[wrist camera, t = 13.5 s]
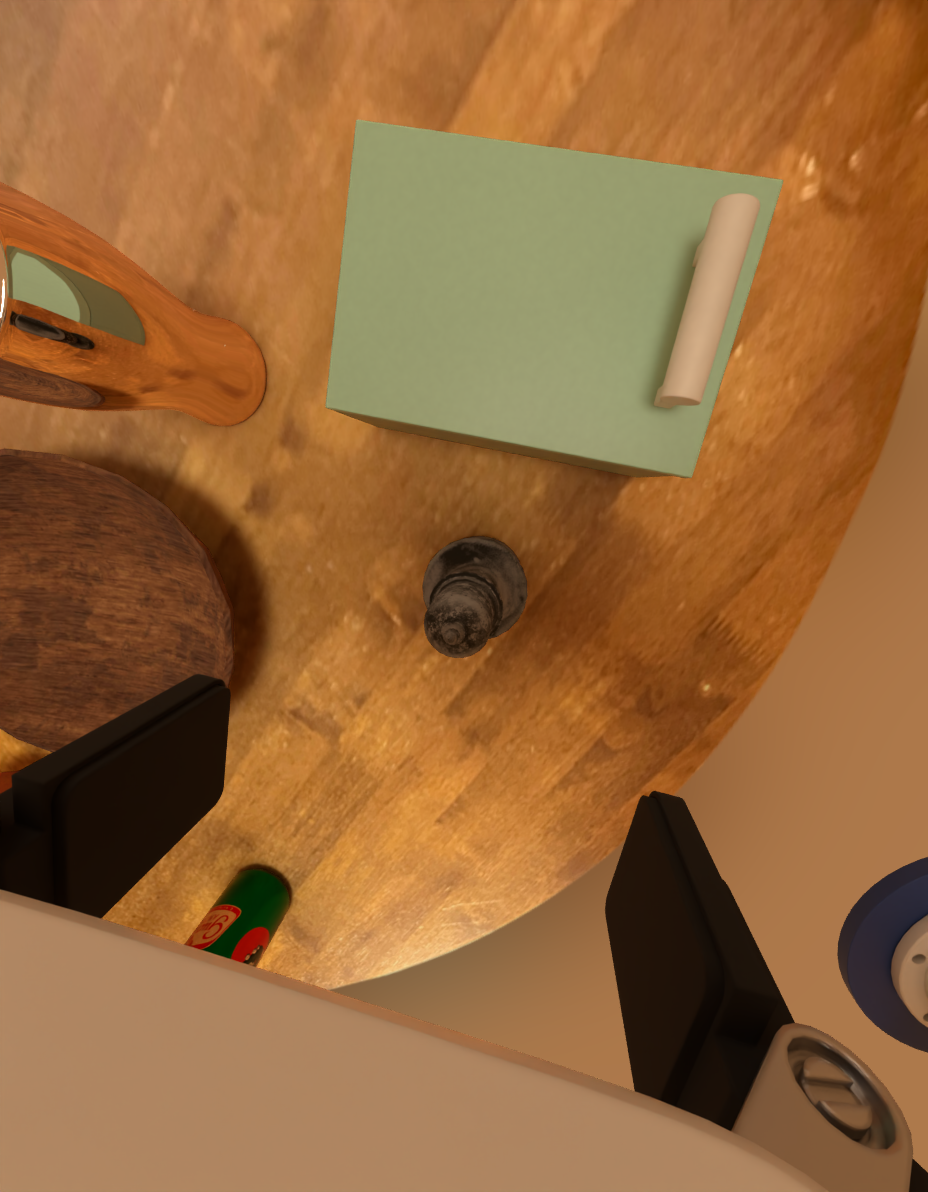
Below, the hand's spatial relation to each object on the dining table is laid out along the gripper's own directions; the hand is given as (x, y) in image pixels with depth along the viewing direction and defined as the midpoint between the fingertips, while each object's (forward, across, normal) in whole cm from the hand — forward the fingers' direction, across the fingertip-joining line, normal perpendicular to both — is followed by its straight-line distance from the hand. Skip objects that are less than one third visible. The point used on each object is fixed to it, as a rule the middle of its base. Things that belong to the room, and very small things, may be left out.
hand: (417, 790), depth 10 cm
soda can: (+20, +13, +28) cm, 37 cm away
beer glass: (+20, +19, -10) cm, 29 cm away
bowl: (+20, +25, +6) cm, 33 cm away
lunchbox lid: (+13, +1, -14) cm, 19 cm away
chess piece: (+20, +1, -1) cm, 20 cm away
